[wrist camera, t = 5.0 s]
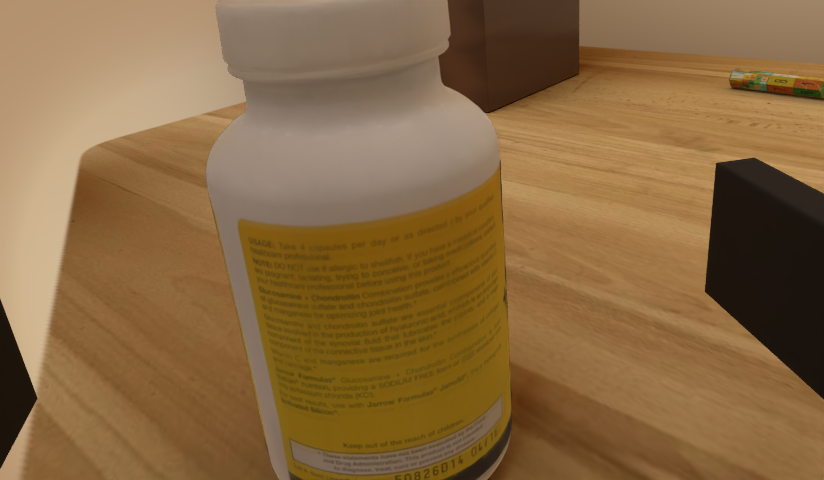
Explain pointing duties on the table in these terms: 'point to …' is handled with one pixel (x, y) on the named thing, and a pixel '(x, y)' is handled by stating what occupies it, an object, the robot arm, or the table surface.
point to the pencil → (777, 82)
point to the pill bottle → (363, 242)
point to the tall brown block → (509, 48)
